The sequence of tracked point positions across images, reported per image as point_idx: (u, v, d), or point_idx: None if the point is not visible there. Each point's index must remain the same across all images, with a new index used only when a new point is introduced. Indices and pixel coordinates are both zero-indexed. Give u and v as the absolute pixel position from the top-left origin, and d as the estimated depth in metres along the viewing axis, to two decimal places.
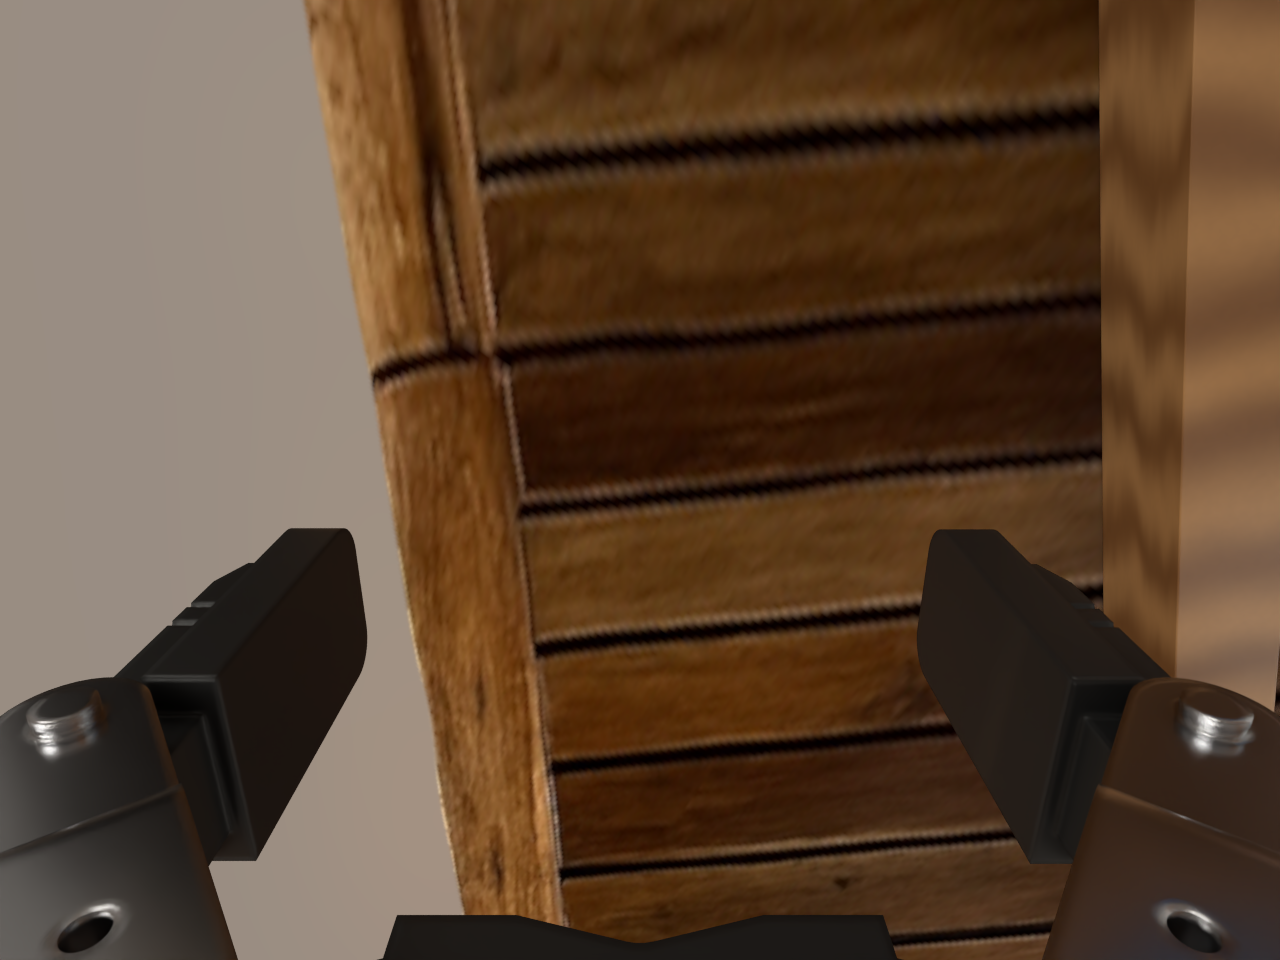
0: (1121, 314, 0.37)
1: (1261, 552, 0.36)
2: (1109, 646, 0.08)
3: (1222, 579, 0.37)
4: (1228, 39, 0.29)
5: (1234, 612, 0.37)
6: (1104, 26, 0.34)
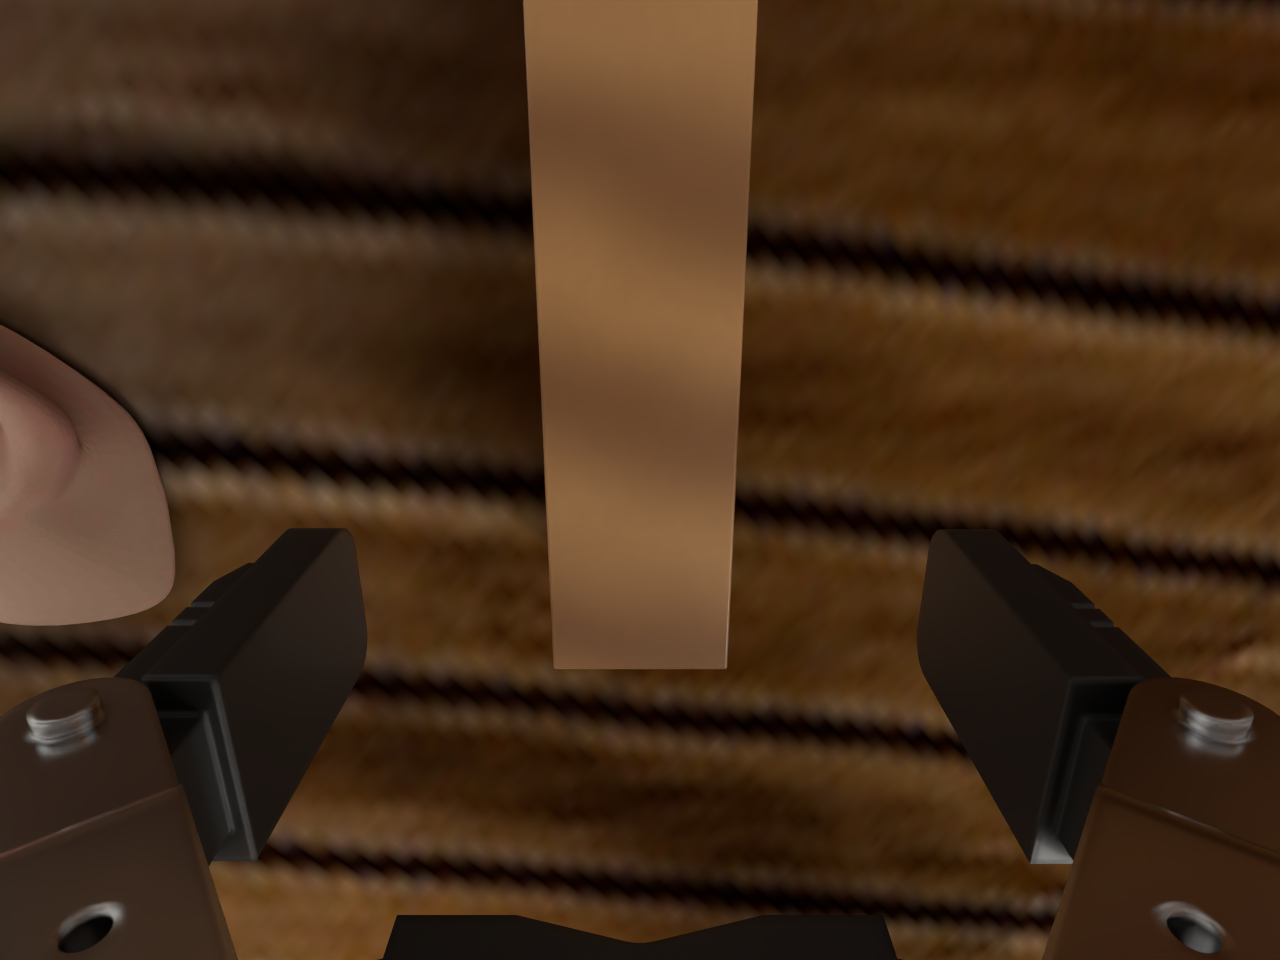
0: None
1: None
2: (1109, 646, 0.08)
3: None
4: (691, 344, 0.19)
5: None
6: None
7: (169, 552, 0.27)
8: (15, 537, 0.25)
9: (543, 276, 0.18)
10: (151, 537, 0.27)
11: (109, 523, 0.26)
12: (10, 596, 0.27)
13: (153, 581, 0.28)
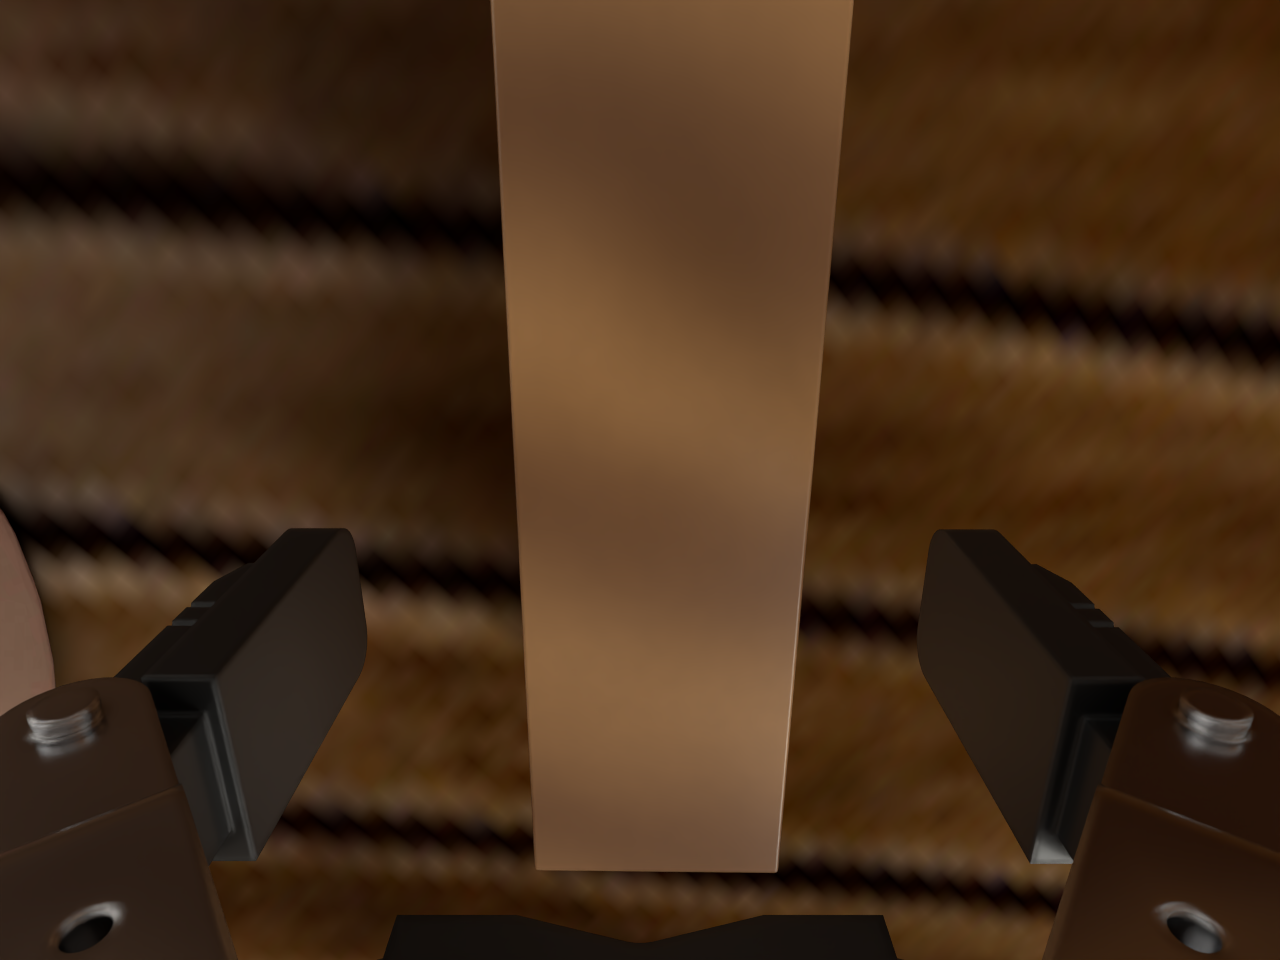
0: None
1: None
2: (1109, 646, 0.08)
3: None
4: (741, 435, 0.13)
5: None
6: None
7: (45, 665, 0.21)
8: None
9: (519, 334, 0.12)
10: (19, 648, 0.21)
11: None
12: None
13: None
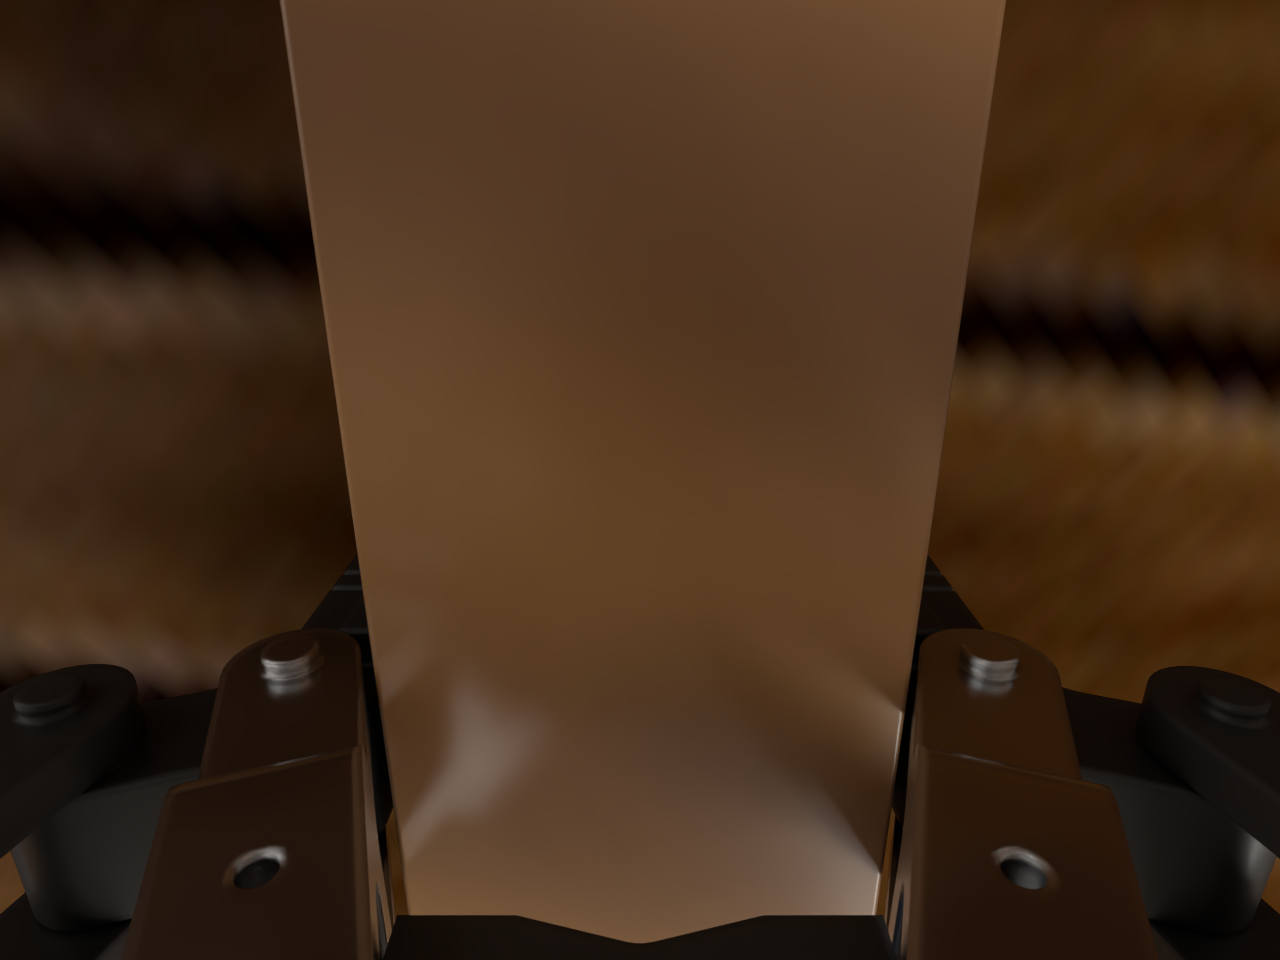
0: None
1: None
2: (926, 604, 0.09)
3: None
4: (782, 636, 0.07)
5: None
6: None
7: None
8: None
9: (366, 468, 0.06)
10: None
11: None
12: None
13: None
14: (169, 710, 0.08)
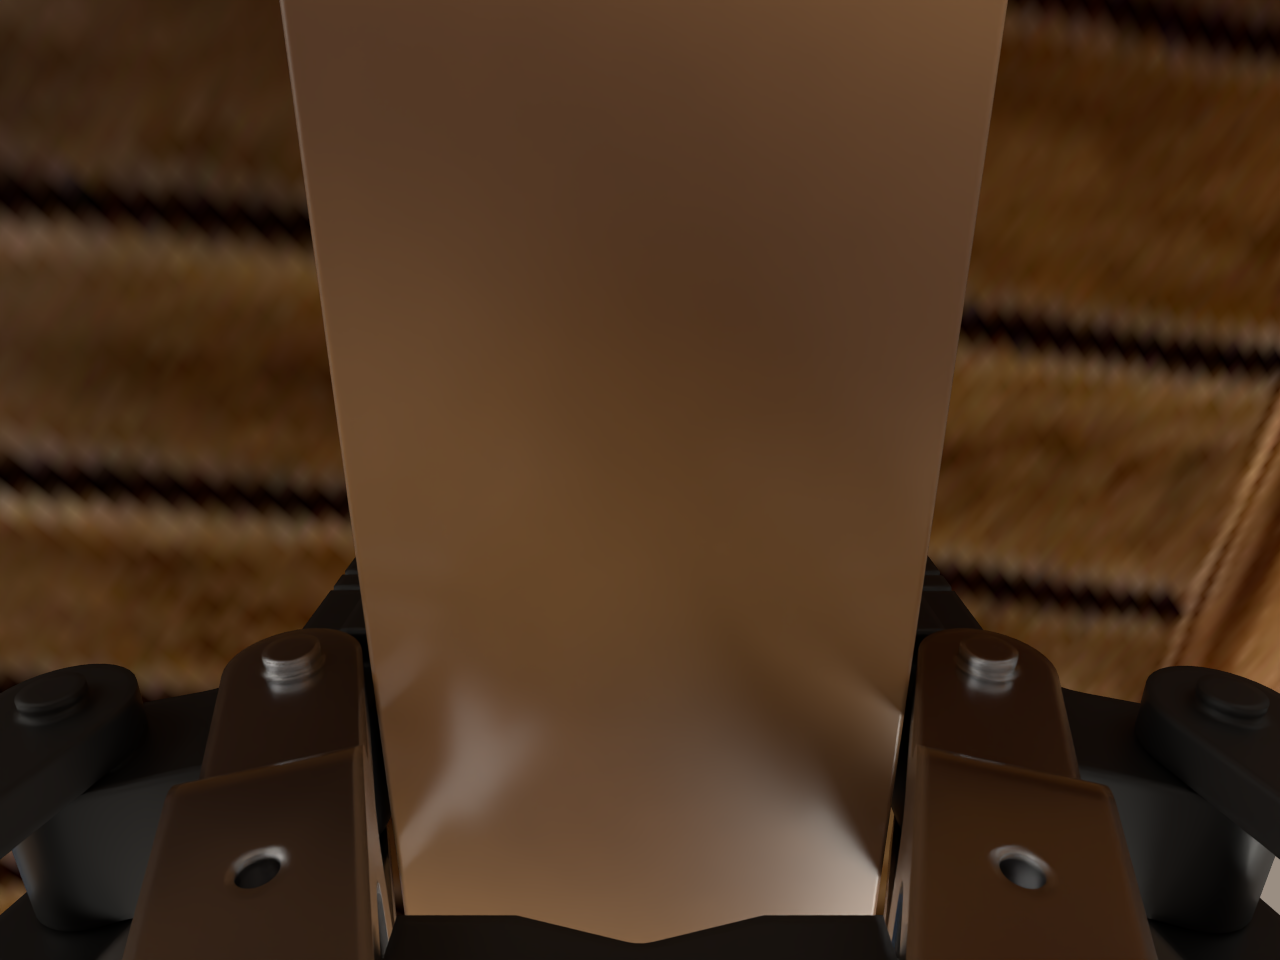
0: None
1: None
2: (924, 603, 0.09)
3: None
4: (781, 633, 0.07)
5: None
6: None
7: None
8: None
9: (363, 462, 0.06)
10: None
11: None
12: None
13: None
14: (171, 710, 0.08)
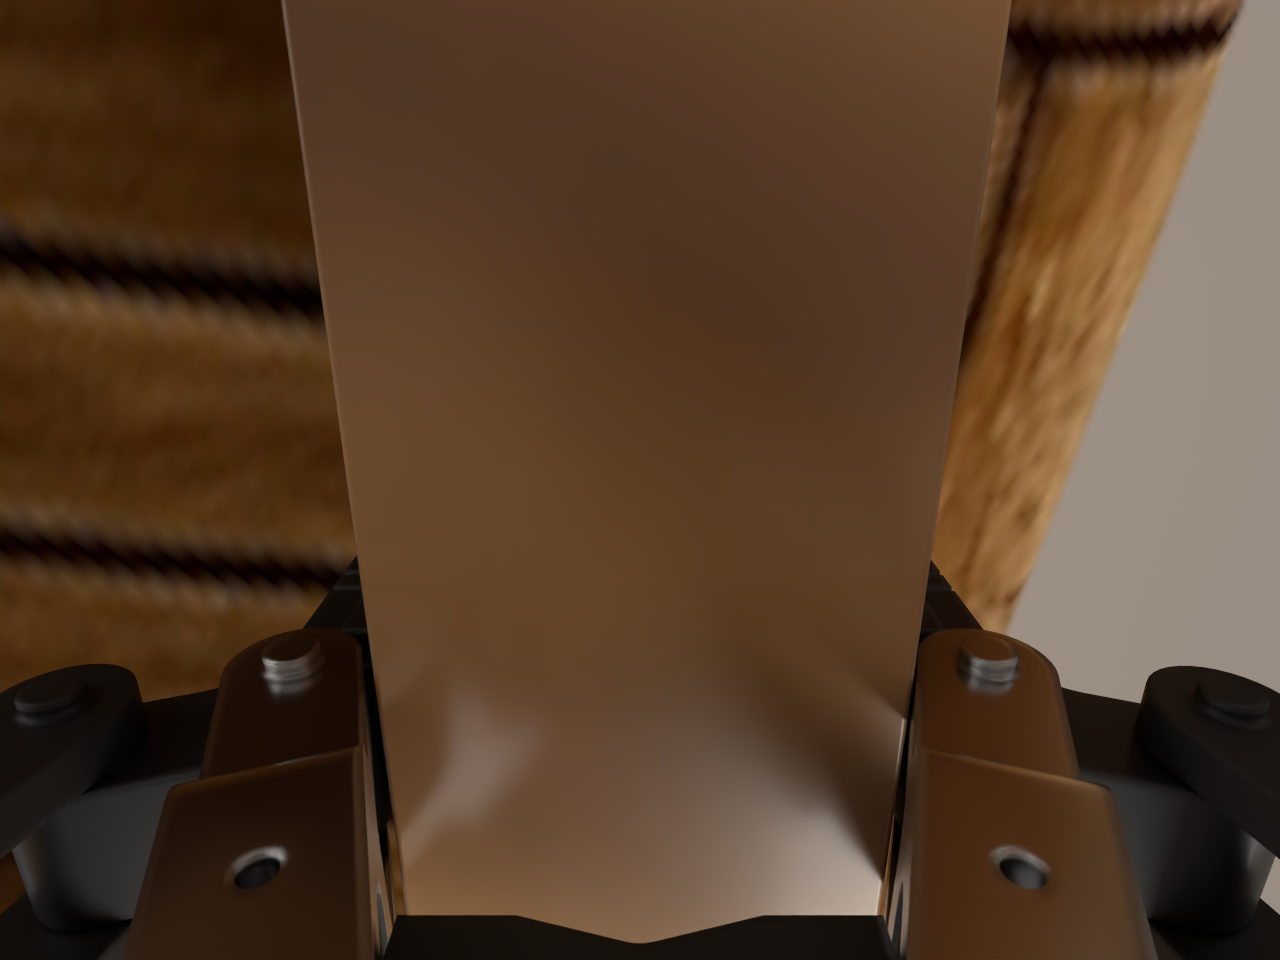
0: None
1: None
2: (925, 603, 0.09)
3: None
4: (785, 631, 0.07)
5: None
6: None
7: None
8: None
9: (364, 460, 0.06)
10: None
11: None
12: None
13: None
14: (170, 710, 0.08)
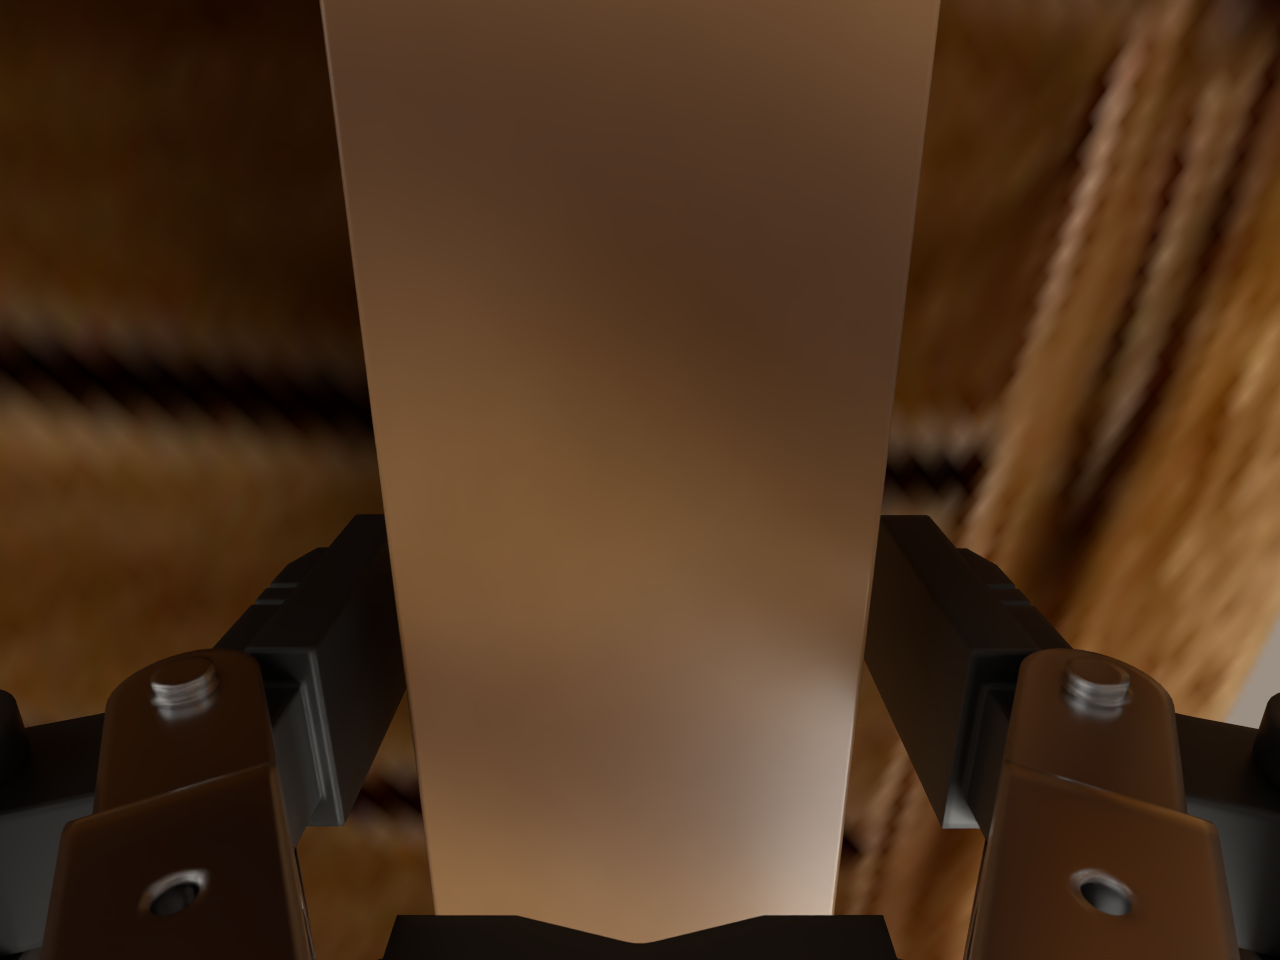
0: None
1: None
2: (1014, 621, 0.08)
3: None
4: (754, 601, 0.08)
5: None
6: None
7: None
8: None
9: (394, 455, 0.07)
10: None
11: None
12: None
13: None
14: (60, 733, 0.07)
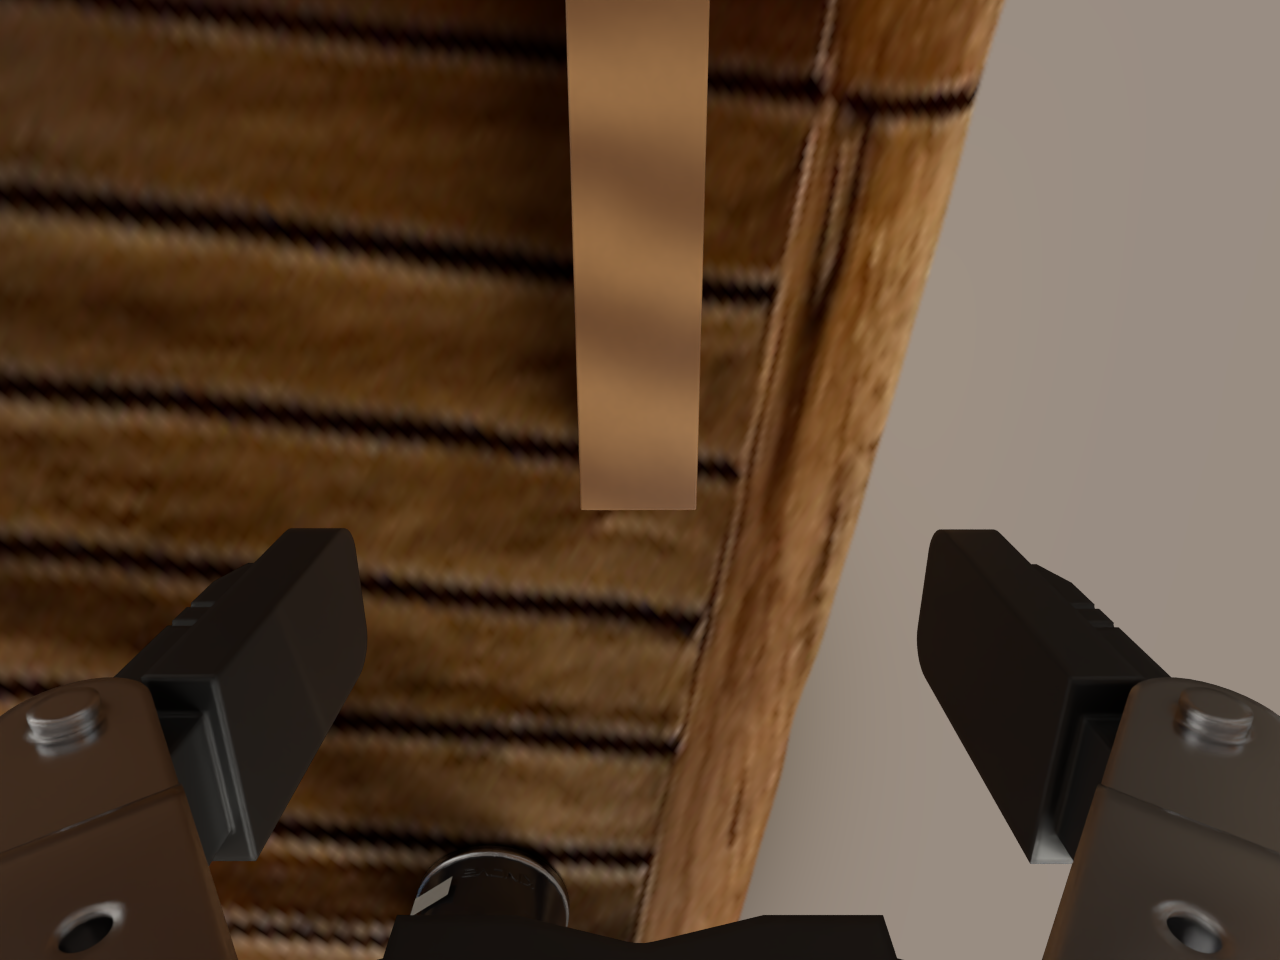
0: None
1: None
2: (1109, 646, 0.08)
3: None
4: (670, 288, 0.30)
5: None
6: None
7: None
8: None
9: (577, 245, 0.30)
10: None
11: None
12: None
13: None
14: None
